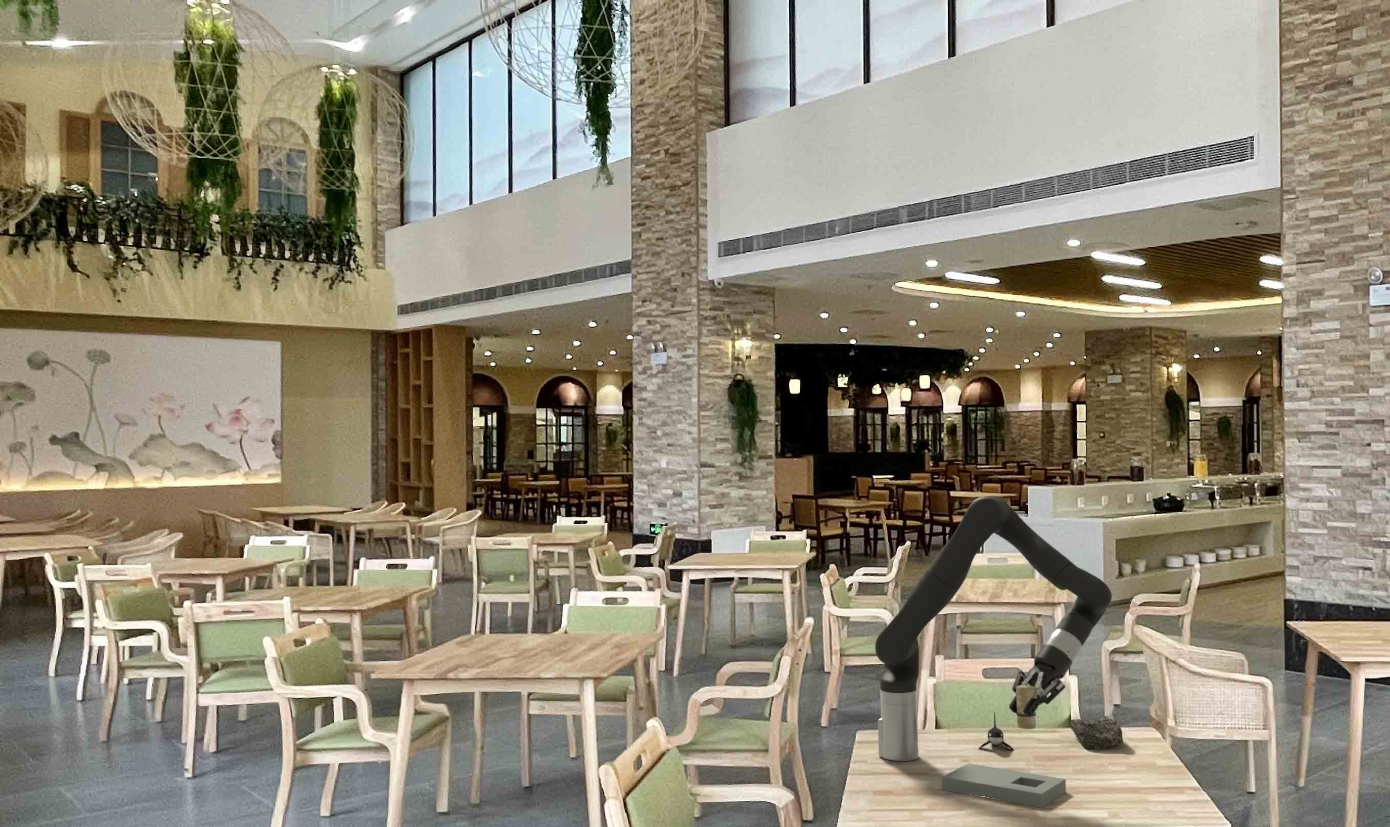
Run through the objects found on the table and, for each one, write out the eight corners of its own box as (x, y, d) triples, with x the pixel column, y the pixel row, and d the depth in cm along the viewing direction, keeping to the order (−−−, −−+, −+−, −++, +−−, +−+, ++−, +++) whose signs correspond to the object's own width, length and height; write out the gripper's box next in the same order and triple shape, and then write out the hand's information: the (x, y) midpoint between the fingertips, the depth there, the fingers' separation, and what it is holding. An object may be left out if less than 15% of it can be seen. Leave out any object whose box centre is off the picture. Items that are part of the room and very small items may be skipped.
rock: (1068, 714, 323) (1069, 736, 323) (1082, 727, 307) (1082, 751, 307) (1113, 714, 322) (1113, 736, 322) (1129, 728, 306) (1129, 752, 306)
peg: (1013, 727, 270) (1012, 687, 270) (1021, 723, 273) (1020, 684, 274) (1031, 730, 267) (1030, 689, 268) (1039, 726, 271) (1038, 686, 271)
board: (942, 789, 276) (941, 776, 276) (968, 775, 287) (968, 763, 287) (1041, 807, 261) (1041, 794, 261) (1065, 792, 272) (1065, 779, 272)
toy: (1016, 751, 304) (1014, 711, 307) (976, 750, 306) (975, 710, 309) (1013, 750, 324) (1012, 712, 327) (976, 749, 326) (975, 711, 329)
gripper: (1027, 639, 281) (988, 696, 275) (1071, 647, 268) (1031, 708, 262) (1045, 659, 283) (1007, 716, 277) (1089, 668, 270) (1050, 729, 264)
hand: (1019, 712), depth 270 cm, fingers closed on peg, 4 cm apart
